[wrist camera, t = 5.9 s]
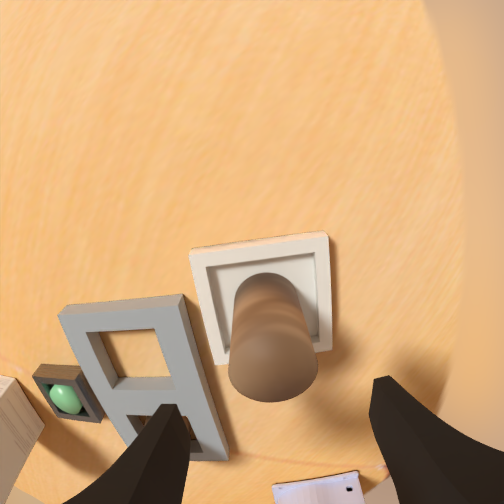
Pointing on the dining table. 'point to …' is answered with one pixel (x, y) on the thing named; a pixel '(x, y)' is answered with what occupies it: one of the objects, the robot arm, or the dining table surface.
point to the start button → (66, 399)
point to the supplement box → (15, 433)
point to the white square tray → (259, 261)
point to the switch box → (73, 377)
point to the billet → (270, 341)
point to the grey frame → (147, 388)
